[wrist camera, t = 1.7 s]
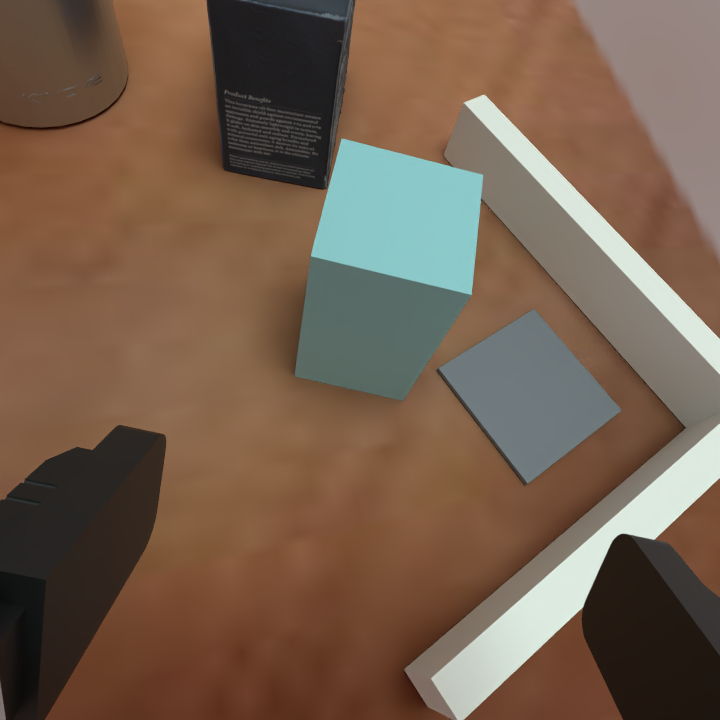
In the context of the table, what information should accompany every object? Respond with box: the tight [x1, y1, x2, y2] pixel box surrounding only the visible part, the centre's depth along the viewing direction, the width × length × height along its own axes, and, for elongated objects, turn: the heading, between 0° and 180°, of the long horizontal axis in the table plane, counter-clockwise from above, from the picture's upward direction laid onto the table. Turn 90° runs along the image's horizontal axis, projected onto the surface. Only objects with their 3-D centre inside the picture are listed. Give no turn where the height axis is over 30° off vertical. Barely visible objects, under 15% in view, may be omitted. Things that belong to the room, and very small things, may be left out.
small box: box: [207, 0, 355, 189], centre depth 30 cm, size 11×6×10 cm, turn 175°
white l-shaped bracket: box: [404, 95, 720, 720], centre depth 27 cm, size 23×21×4 cm
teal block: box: [294, 139, 483, 401], centre depth 24 cm, size 6×6×10 cm
